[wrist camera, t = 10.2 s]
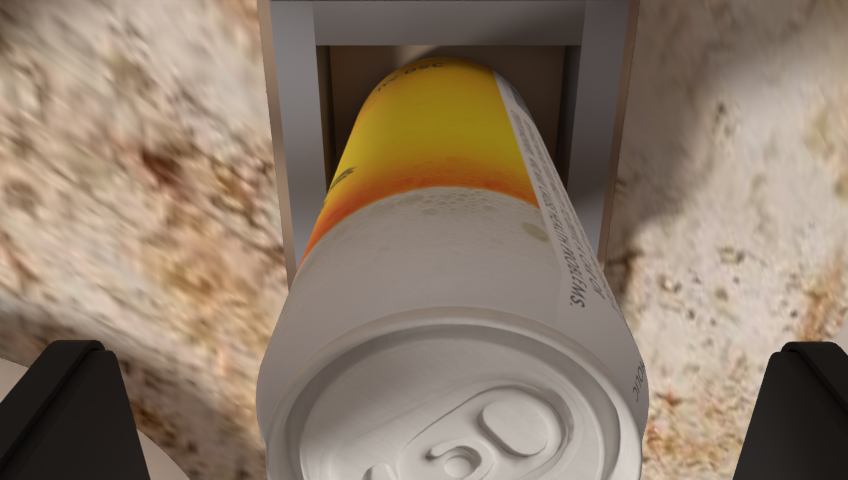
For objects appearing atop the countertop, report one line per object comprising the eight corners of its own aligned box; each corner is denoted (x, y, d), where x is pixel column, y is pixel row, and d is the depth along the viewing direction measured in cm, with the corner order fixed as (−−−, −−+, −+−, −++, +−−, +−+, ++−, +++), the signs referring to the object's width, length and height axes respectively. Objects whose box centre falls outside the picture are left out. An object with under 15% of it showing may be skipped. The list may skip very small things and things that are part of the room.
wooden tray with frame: (248, -192, 20) (206, -215, 16) (651, -194, 20) (699, -218, 16) (304, 354, 29) (285, 417, 25) (581, 357, 28) (602, 421, 25)
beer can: (318, 132, 23) (144, 455, 9) (455, 11, 21) (488, 193, 7) (433, 252, 25) (428, 661, 11) (567, 151, 23) (754, 495, 9)
